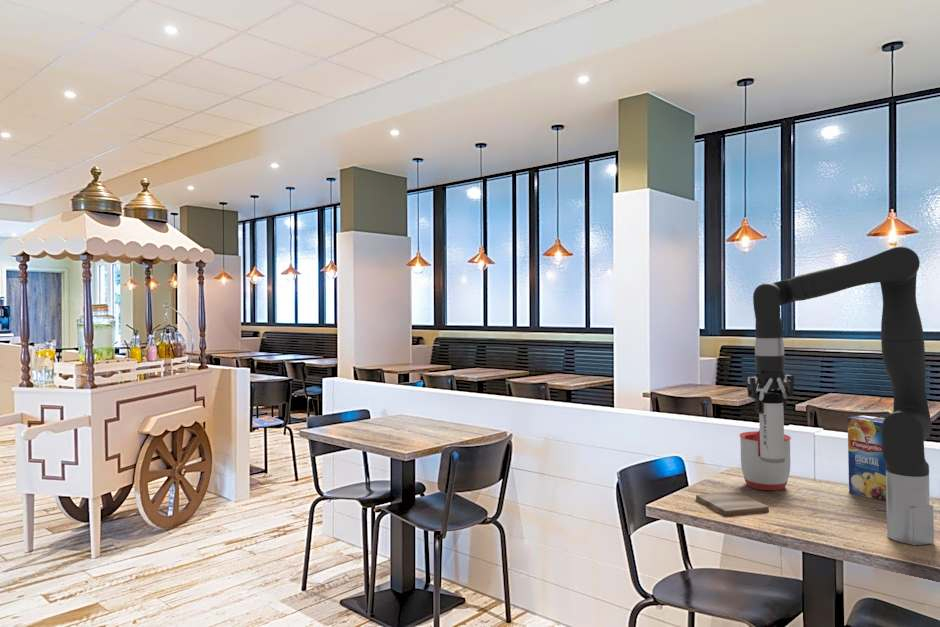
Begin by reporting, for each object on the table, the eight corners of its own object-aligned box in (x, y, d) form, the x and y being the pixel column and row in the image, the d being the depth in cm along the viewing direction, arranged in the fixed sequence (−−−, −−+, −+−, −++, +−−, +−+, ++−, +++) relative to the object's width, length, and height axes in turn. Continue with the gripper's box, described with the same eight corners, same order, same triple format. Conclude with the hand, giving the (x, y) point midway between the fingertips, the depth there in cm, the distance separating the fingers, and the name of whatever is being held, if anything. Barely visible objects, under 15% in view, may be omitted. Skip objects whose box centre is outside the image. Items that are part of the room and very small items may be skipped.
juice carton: (901, 498, 198) (900, 420, 198) (886, 502, 195) (885, 423, 195) (863, 488, 209) (862, 415, 209) (848, 492, 206) (847, 417, 206)
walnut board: (768, 511, 189) (768, 506, 189) (725, 516, 187) (725, 510, 187) (736, 496, 205) (736, 491, 205) (696, 499, 202) (696, 495, 202)
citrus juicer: (743, 493, 208) (742, 431, 208) (738, 478, 224) (736, 421, 224) (797, 496, 203) (795, 433, 203) (787, 481, 220) (786, 423, 220)
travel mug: (779, 457, 186) (777, 388, 185) (788, 463, 179) (786, 391, 179) (756, 457, 186) (755, 388, 186) (765, 463, 180) (763, 391, 179)
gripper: (755, 355, 177) (756, 416, 177) (801, 353, 180) (802, 413, 180) (738, 353, 185) (740, 412, 185) (783, 351, 187) (784, 409, 187)
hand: (771, 412), depth 182 cm, fingers closed on travel mug, 6 cm apart
